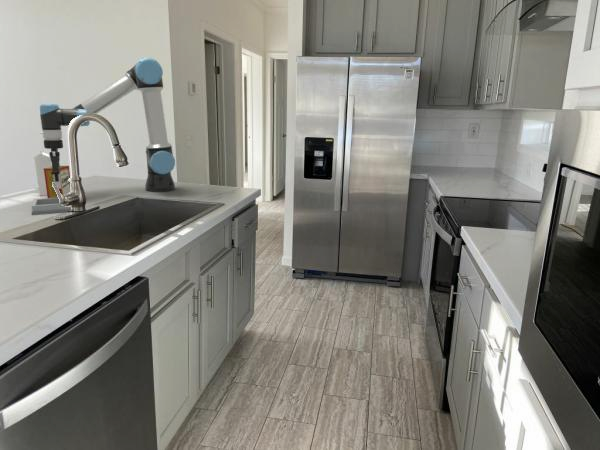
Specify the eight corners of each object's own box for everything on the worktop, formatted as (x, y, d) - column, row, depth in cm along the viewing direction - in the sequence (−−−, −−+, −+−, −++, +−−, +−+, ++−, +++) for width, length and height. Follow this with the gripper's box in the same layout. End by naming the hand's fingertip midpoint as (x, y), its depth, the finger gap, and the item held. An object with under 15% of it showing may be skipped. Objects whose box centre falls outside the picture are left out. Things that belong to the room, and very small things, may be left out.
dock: (72, 203, 202) (72, 196, 201) (73, 211, 188) (72, 203, 187) (34, 206, 195) (33, 198, 194) (32, 214, 181) (30, 206, 180)
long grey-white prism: (39, 196, 216) (32, 150, 210) (42, 193, 222) (35, 149, 216) (53, 195, 218) (47, 150, 212) (56, 193, 224) (49, 148, 218)
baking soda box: (62, 202, 203) (58, 167, 199) (48, 202, 203) (43, 167, 199) (72, 198, 213) (68, 164, 208) (59, 198, 213) (54, 164, 208)
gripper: (44, 137, 210) (50, 181, 215) (41, 141, 188) (47, 191, 194) (62, 137, 213) (67, 181, 218) (61, 141, 191) (67, 190, 197)
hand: (58, 186), depth 206 cm, fingers open, 13 cm apart
